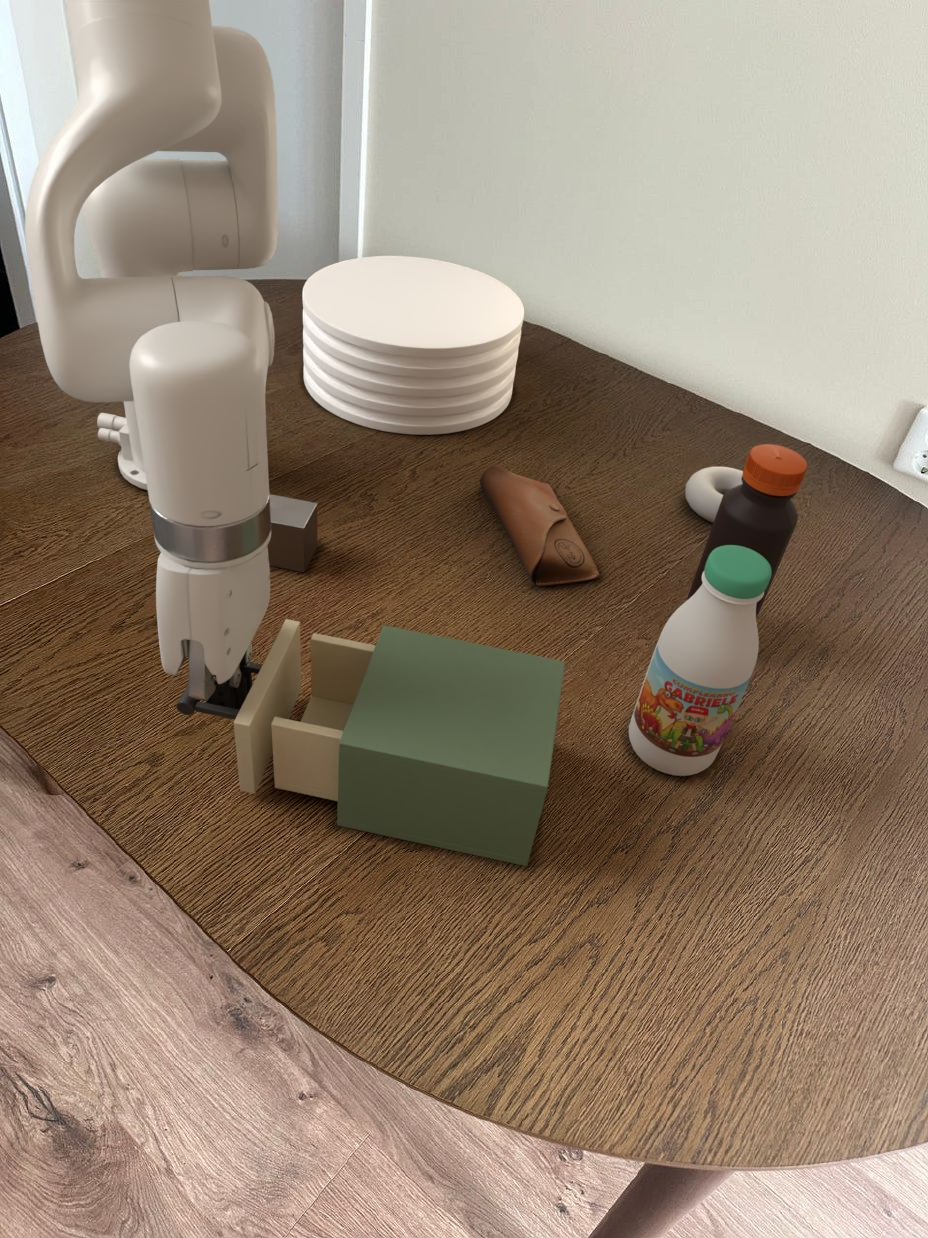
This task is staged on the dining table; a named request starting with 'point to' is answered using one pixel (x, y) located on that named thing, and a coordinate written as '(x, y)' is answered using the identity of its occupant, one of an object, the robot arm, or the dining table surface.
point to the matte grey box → (292, 533)
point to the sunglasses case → (538, 529)
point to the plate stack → (410, 343)
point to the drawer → (263, 718)
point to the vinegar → (758, 509)
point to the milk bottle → (701, 666)
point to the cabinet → (450, 745)
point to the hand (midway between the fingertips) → (230, 706)
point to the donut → (710, 489)
